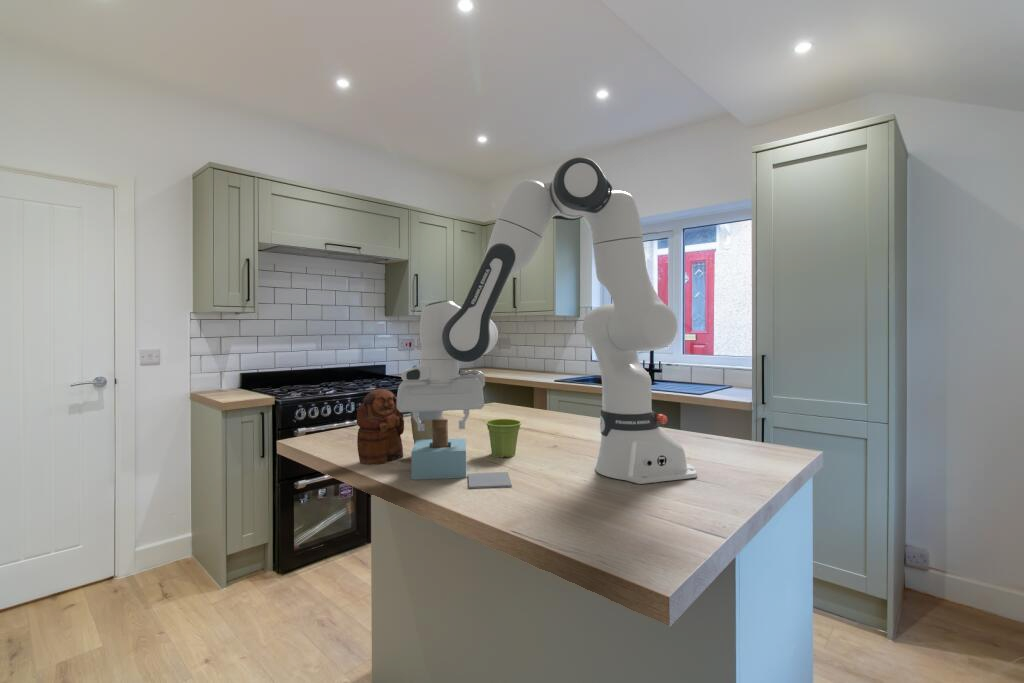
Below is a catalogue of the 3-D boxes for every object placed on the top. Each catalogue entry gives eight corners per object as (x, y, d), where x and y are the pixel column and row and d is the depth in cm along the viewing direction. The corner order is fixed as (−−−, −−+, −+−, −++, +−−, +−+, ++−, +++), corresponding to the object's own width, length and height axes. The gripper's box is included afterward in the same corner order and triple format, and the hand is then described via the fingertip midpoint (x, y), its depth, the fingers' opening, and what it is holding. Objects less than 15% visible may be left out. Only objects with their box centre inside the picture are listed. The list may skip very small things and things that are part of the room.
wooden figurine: (370, 467, 116) (369, 393, 116) (355, 463, 120) (353, 390, 120) (409, 456, 126) (408, 387, 125) (393, 452, 130) (392, 386, 129)
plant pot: (500, 448, 134) (499, 417, 133) (528, 453, 128) (528, 421, 128) (478, 456, 126) (478, 422, 126) (507, 461, 121) (507, 427, 120)
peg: (448, 468, 115) (447, 418, 115) (448, 472, 112) (447, 421, 111) (433, 468, 115) (432, 418, 115) (432, 473, 111) (431, 421, 111)
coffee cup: (442, 461, 121) (441, 401, 121) (404, 461, 121) (403, 401, 121) (447, 451, 131) (447, 396, 130) (412, 451, 131) (412, 396, 130)
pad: (507, 473, 111) (507, 472, 111) (511, 486, 102) (511, 484, 102) (468, 475, 110) (468, 473, 110) (468, 488, 101) (468, 486, 101)
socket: (465, 462, 120) (465, 438, 120) (466, 477, 108) (465, 450, 108) (416, 464, 119) (416, 439, 119) (411, 479, 107) (411, 452, 107)
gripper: (484, 368, 117) (485, 424, 118) (398, 370, 115) (400, 428, 116) (485, 370, 111) (486, 430, 111) (394, 373, 109) (396, 434, 109)
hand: (441, 429), depth 114 cm, fingers open, 8 cm apart
